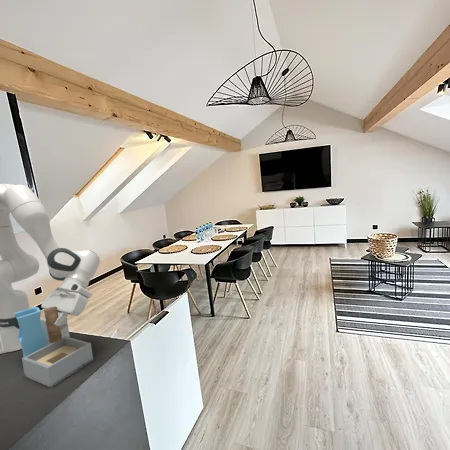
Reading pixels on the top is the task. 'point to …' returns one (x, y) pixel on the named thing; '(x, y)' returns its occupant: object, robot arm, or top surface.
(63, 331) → the supplement box
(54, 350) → the bore box
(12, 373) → the top surface
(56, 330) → the peg
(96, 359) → the top surface
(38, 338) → the blue curved piece
